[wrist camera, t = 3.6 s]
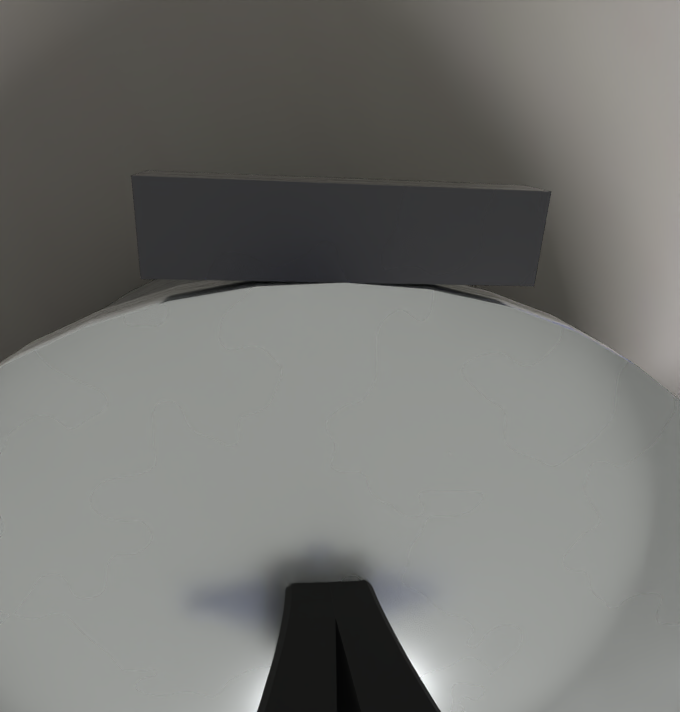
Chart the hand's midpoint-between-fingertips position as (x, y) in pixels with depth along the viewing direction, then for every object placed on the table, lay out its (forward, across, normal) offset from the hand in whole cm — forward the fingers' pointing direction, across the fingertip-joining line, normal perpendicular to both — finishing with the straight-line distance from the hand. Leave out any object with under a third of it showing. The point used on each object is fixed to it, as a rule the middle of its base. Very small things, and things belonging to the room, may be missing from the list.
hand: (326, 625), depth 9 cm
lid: (+1, 0, +2) cm, 2 cm away
